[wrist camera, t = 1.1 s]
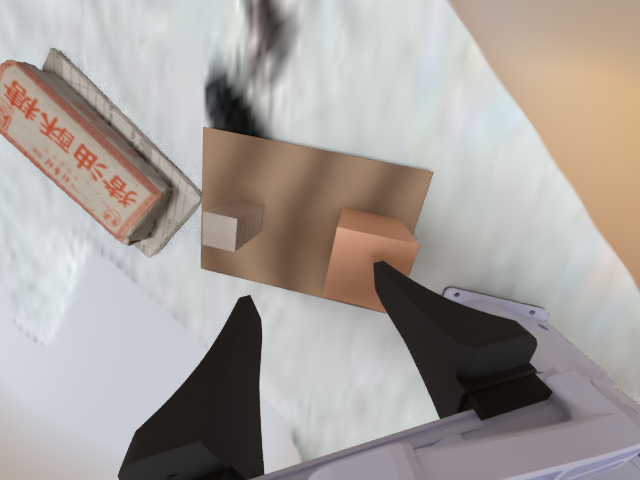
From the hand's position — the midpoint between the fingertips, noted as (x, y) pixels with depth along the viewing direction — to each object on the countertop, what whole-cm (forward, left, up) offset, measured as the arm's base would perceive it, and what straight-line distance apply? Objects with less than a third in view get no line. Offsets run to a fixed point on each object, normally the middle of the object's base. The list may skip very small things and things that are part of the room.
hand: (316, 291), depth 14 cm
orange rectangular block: (-3, -1, -9) cm, 10 cm away
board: (+3, -1, -11) cm, 11 cm away
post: (+8, -1, -9) cm, 12 cm away
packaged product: (+23, -2, -11) cm, 26 cm away
